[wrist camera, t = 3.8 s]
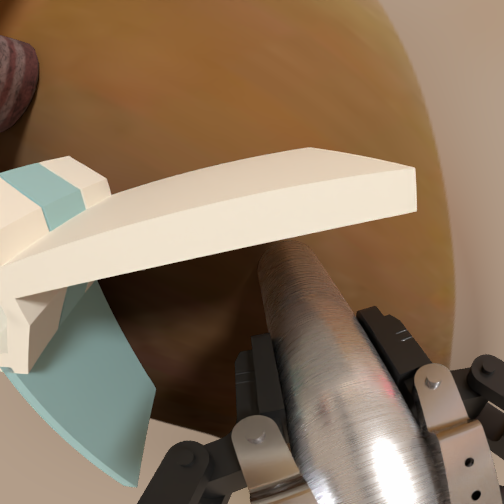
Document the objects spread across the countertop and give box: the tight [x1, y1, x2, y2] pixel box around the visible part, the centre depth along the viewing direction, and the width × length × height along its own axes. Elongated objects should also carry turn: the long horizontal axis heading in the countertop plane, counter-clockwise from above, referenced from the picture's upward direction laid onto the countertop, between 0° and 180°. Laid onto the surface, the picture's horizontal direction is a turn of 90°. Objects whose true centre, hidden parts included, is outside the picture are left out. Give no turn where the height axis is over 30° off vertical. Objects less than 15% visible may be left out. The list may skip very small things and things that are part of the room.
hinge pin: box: [257, 241, 445, 504], centre depth 9 cm, size 4×4×16 cm
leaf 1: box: [0, 163, 156, 487], centre depth 12 cm, size 18×7×9 cm, turn 12°
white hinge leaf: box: [0, 147, 417, 374], centre depth 10 cm, size 7×18×9 cm, turn 101°
